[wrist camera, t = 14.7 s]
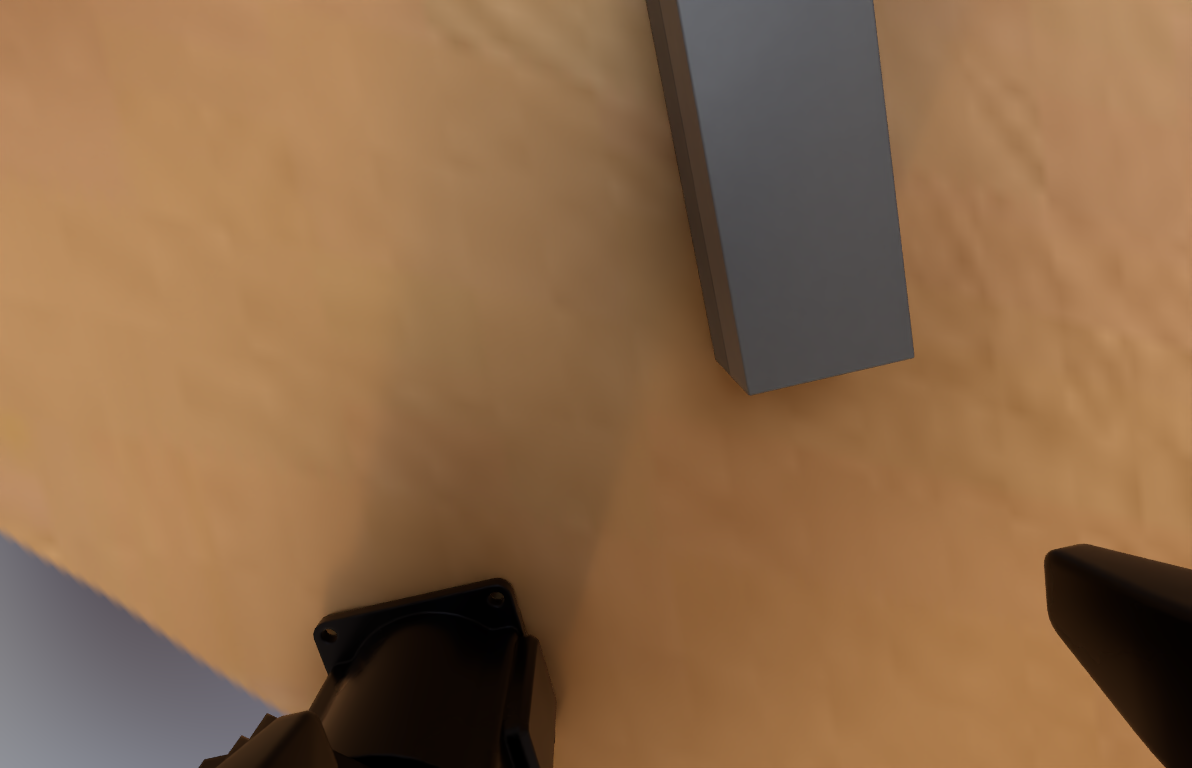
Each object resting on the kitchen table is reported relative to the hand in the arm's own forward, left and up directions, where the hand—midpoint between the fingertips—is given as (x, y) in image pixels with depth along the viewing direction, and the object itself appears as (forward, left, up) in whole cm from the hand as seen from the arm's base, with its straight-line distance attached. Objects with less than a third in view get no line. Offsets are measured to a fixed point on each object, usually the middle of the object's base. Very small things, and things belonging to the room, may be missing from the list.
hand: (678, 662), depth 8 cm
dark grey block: (+5, +6, -12) cm, 14 cm away
